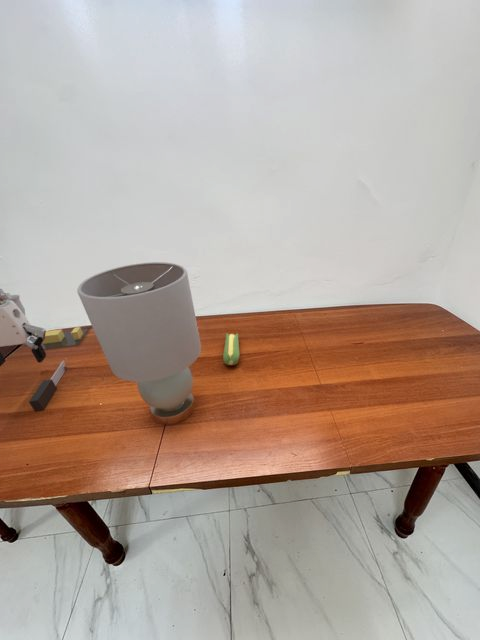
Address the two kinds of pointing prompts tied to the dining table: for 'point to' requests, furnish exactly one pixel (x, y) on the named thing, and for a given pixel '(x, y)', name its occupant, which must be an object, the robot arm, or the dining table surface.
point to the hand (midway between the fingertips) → (22, 362)
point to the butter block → (53, 336)
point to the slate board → (64, 341)
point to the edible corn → (231, 350)
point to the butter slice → (77, 333)
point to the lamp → (147, 332)
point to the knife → (47, 390)
